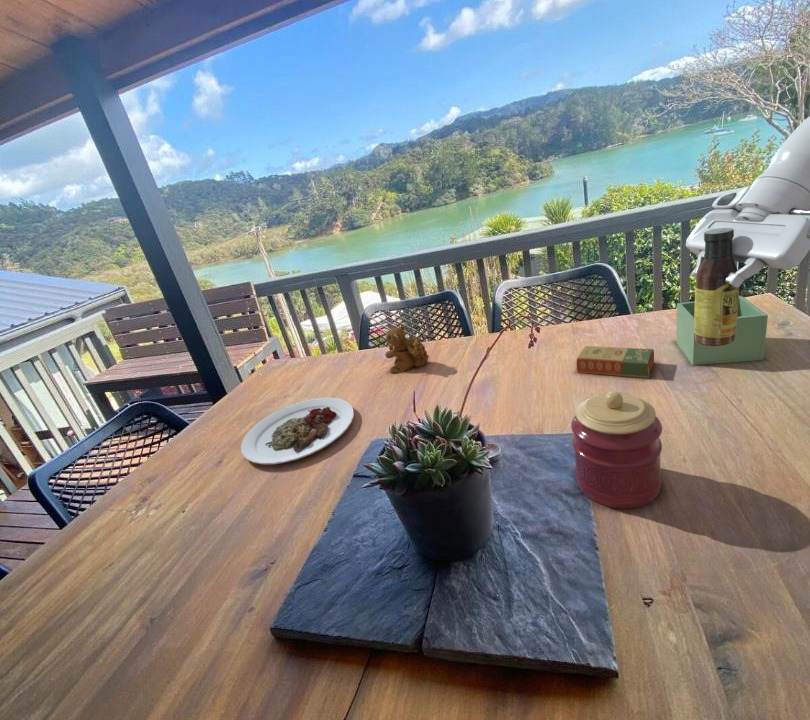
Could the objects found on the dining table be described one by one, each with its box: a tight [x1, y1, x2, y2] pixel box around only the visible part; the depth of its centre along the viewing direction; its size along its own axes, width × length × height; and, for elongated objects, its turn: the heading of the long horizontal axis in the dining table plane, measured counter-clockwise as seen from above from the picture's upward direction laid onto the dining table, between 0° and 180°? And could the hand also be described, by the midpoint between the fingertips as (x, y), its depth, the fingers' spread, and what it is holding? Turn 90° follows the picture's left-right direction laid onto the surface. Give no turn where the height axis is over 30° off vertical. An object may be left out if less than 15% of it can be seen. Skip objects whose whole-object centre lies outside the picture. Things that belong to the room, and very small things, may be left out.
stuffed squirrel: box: [384, 325, 430, 374], centre depth 135 cm, size 10×14×13 cm
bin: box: [675, 295, 769, 366], centre depth 103 cm, size 14×14×11 cm
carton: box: [576, 345, 655, 379], centre depth 107 cm, size 8×16×4 cm, turn 55°
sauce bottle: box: [694, 228, 740, 346], centre depth 75 cm, size 6×6×20 cm
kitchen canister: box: [570, 390, 663, 510], centre depth 70 cm, size 13×13×18 cm
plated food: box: [240, 397, 355, 465], centre depth 114 cm, size 30×30×3 cm
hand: (712, 281), depth 75 cm, fingers closed on sauce bottle, 6 cm apart
